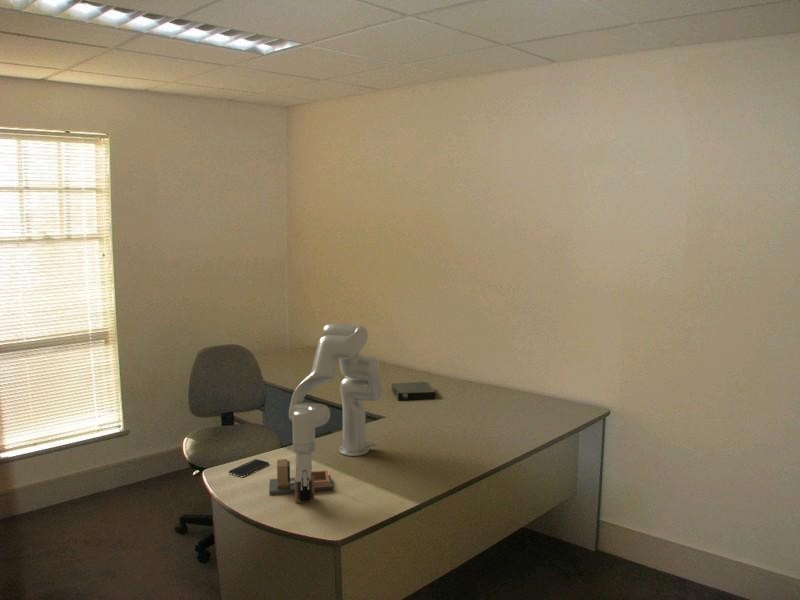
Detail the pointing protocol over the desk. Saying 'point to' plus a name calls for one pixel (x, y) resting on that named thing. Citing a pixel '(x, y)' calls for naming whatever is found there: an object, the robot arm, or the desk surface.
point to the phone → (249, 467)
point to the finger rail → (288, 484)
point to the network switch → (413, 391)
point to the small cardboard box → (298, 487)
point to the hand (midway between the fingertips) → (304, 496)
